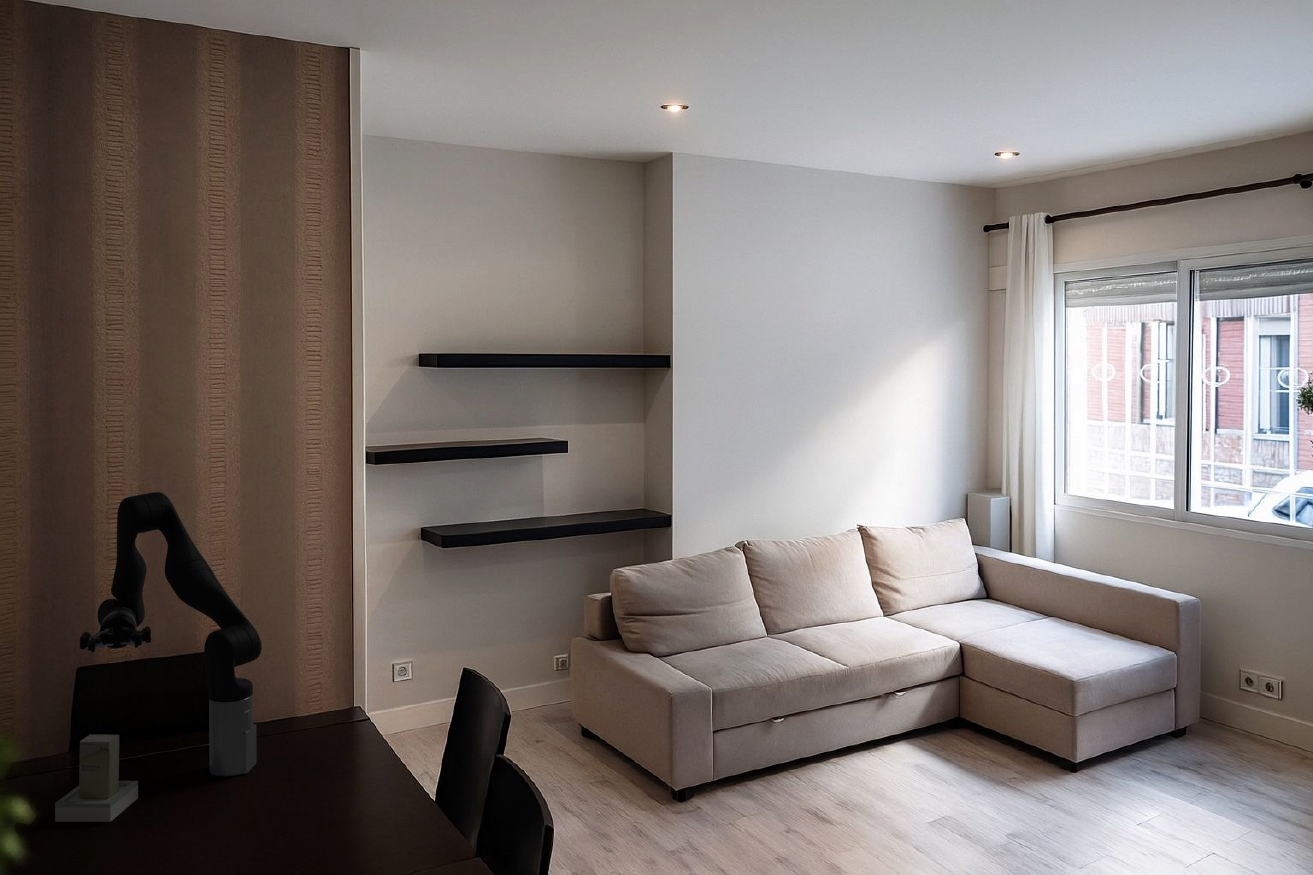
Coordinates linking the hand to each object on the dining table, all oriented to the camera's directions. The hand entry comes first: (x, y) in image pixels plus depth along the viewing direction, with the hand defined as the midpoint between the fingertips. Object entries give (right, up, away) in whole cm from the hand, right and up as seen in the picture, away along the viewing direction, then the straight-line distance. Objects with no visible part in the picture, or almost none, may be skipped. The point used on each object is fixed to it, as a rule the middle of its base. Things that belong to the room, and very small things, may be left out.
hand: (114, 645), depth 213 cm
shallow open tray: (+5, -31, -15) cm, 35 cm away
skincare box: (+5, -28, -15) cm, 32 cm away
